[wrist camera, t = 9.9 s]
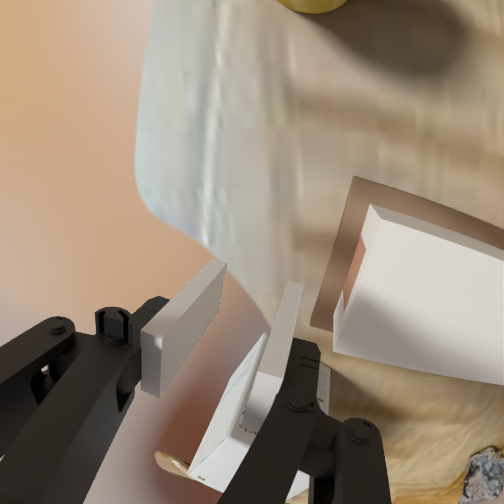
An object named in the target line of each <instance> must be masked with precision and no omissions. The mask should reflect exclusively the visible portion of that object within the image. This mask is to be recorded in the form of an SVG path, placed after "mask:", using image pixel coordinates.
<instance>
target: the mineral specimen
mask: <svg viewBox="0 0 504 504" xmlns="http://www.w3.org/2000/svg"><path fill="white" fill-rule="evenodd" d="M500 454H501V450H500V451H497V452H496V451H495V450H494V448H493V447H491V446H488V447H486V448H485V449H484V450H482V451H480V452H479V453H477V454H475V455H473V456H470V458H469V461H468V464H467V475H466V477H465V478H464V487H463V490H462V494H461V497H460V500H459V503H458V504H477V503H480V502H483V501H486V500H488V499H491V500H493V499H497V498H498V497H499V495H500V494H501V493H502V488H503V483H504V474H502V473H503V471H504V457H501V456H500Z"/></svg>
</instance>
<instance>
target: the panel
mask: <svg viewBox="0 0 504 504" xmlns="http://www.w3.org/2000/svg"><path fill="white" fill-rule="evenodd" d="M333 352H336V353H340V354H345V355H349V356H353V357H357V358H361V359H365V360H370V361H374V362H379V363H383V364H388V365H392V366H397V367H402V368H406V369H411V370H416V371H421V372H426V373H432V374H437V375H442V376H448V377H454V378H460V379H466V380H472V381H478V382H485V383H491V384H499V385H504V250H501V249H499V248H496V247H494V246H491V245H489V244H486V243H484V242H481V241H479V240H476V239H473V238H471V237H468V236H465V235H463V234H460V233H457V232H454V231H452V230H449V229H446V228H443V227H440V226H438V225H435V224H432V223H429V222H426V221H423V220H420V219H417V218H414V217H411V216H408V215H405V214H402V213H399V212H396V211H393V210H389V209H386V208H383V207H380V206H376V205H373V204H370V205H369V208H368V212H367V215H366V219H365V222H364V225H363V229H362V232H361V235H360V238H359V242H358V245H357V248H356V251H355V254H354V257H353V260H352V263H351V266H350V269H349V272H348V275H347V278H346V281H345V284H344V287H343V290H342V293H341V295H340V298H339V301H338V304H337V306H336V309H335V312H334V315H333Z"/></svg>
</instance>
